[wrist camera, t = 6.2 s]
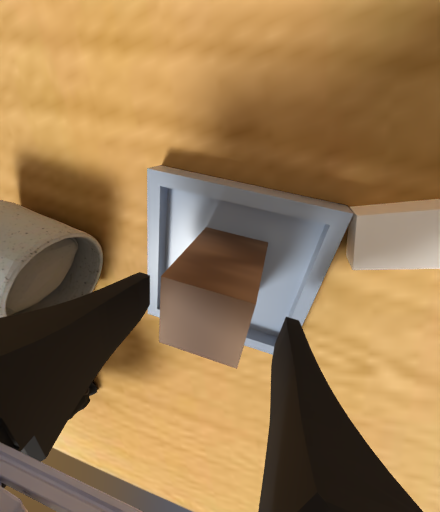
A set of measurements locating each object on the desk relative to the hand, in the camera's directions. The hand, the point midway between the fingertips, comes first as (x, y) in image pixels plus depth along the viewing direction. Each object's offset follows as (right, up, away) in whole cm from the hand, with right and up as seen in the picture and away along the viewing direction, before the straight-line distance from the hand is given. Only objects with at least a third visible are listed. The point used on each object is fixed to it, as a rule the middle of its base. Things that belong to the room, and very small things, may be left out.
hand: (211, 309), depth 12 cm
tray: (+1, +2, +4) cm, 5 cm away
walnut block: (+1, +2, +4) cm, 4 cm away
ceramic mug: (-13, +3, +9) cm, 16 cm away
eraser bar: (+11, +4, +1) cm, 12 cm away
